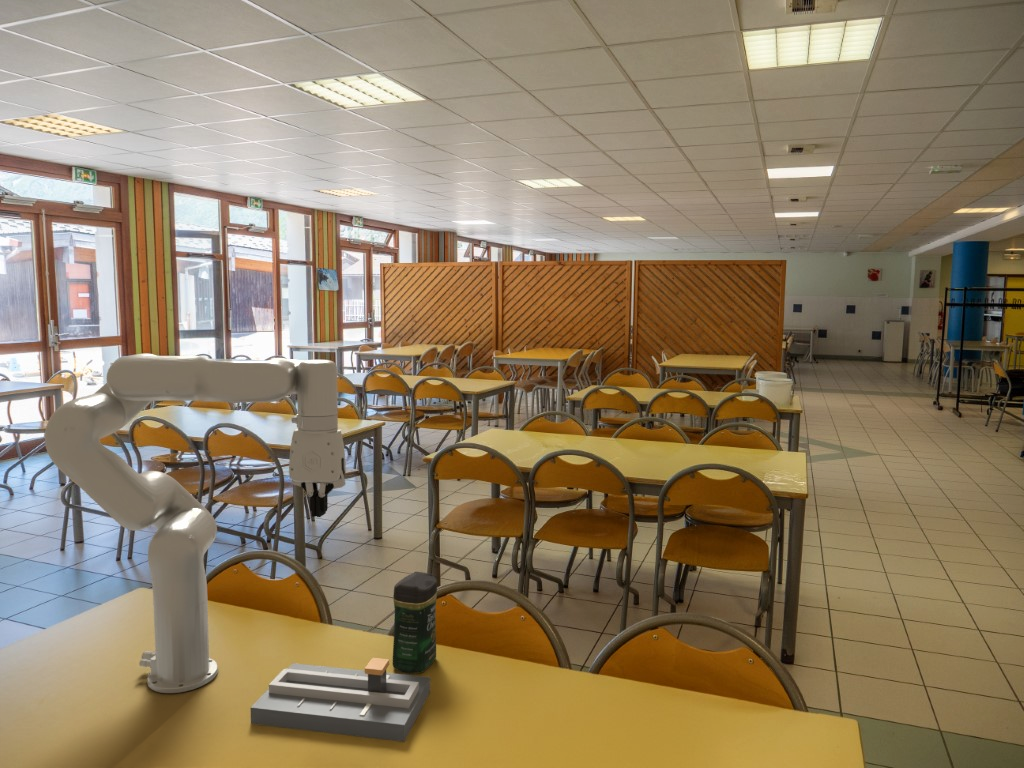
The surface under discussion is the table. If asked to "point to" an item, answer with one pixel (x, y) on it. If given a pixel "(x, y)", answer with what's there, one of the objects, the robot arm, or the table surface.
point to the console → (341, 702)
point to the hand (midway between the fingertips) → (318, 514)
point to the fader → (377, 674)
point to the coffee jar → (415, 623)
